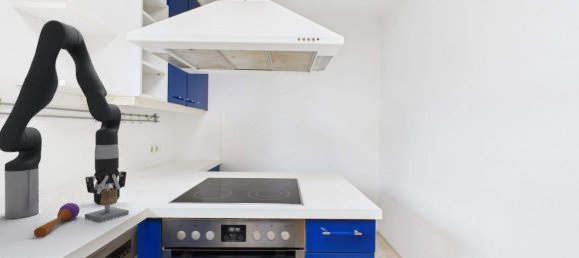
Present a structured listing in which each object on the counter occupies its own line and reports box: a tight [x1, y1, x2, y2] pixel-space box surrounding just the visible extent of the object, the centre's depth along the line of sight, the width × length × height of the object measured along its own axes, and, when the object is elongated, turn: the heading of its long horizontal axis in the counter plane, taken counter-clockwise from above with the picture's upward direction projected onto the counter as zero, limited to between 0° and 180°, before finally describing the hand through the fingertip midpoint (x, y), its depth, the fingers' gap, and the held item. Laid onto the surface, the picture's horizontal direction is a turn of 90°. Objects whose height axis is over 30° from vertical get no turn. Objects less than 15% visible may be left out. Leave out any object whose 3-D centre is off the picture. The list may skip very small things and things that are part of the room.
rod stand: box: [84, 188, 130, 223], centre depth 104 cm, size 10×10×11 cm
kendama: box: [33, 202, 80, 238], centre depth 94 cm, size 6×6×20 cm
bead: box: [96, 188, 118, 206], centre depth 104 cm, size 6×6×5 cm
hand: (107, 201), depth 104 cm, fingers closed on bead, 6 cm apart
